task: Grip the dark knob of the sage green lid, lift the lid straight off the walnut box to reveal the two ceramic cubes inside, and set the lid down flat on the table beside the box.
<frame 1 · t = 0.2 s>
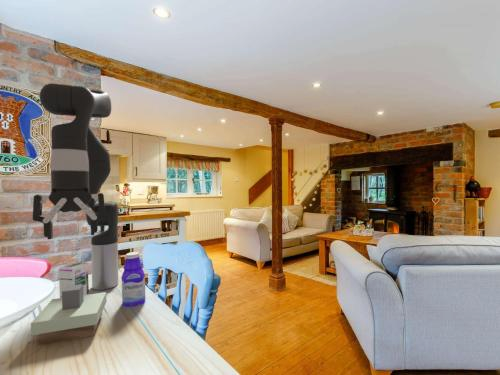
hand: (72, 236, 63), 28 cm above the table, tool pointing down, fingers open, 8 cm apart
cream cube: (81, 330, 71), point 1 cm above the table, touching box
bottle: (133, 305, 88), on the table
syrup box: (74, 309, 85), on the table
lid: (73, 309, 72), point 6 cm above the table, touching box
box: (73, 330, 72), on the table
terracotta cube: (66, 324, 74), point 1 cm above the table, touching box
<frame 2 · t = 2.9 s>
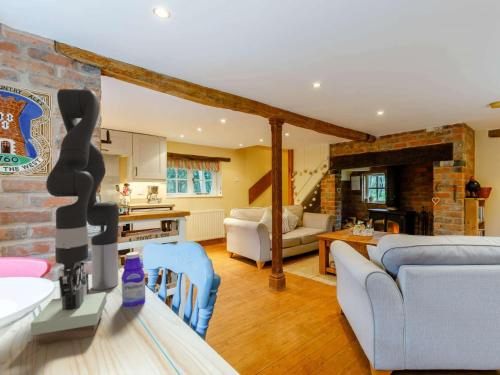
hand: (73, 304, 72), 7 cm above the table, tool pointing down, fingers closed on lid, 4 cm apart
lid: (73, 309, 72), point 6 cm above the table, touching box, gripper
everything else where it was.
when the fingers open (5 cm above the table, at t = 10.0 s): lid drops 1 cm, point 2 cm above the table.
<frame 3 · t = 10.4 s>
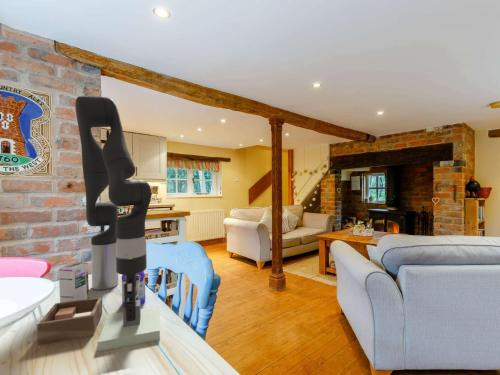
hand: (132, 312, 71), 6 cm above the table, tool pointing down, fingers open, 8 cm apart
lid: (132, 325, 71), point 2 cm above the table
everything else where it was.
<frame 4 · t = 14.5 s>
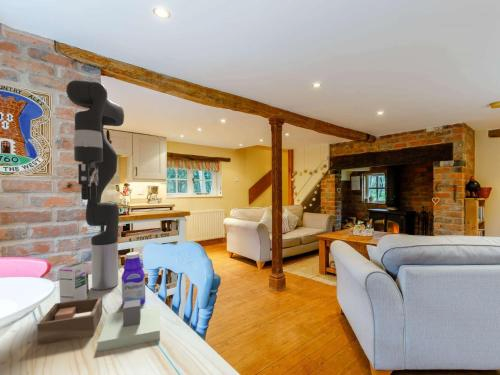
hand: (89, 198, 81), 36 cm above the table, tool pointing down, fingers open, 8 cm apart
nothing on the table moved.
at the end: lid inside the target area (0.1 cm from its centre), point 2.0 cm above the table; lid tilted 0°; the gripper is holding nothing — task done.
